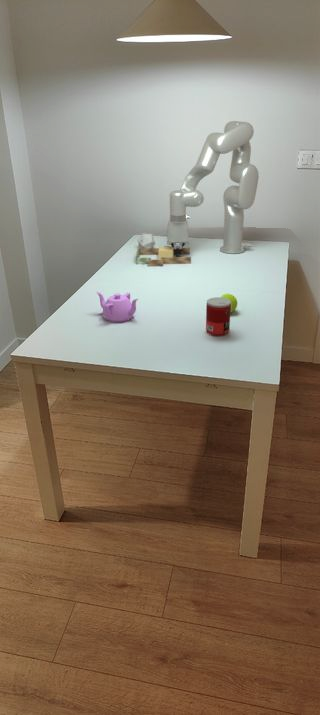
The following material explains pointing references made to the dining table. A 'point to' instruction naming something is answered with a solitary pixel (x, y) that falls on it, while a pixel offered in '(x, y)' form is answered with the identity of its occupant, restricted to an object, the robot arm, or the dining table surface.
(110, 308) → the teapot
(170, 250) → the block
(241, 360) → the dining table surface
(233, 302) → the tennis ball
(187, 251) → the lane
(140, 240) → the die
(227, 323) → the canned food
